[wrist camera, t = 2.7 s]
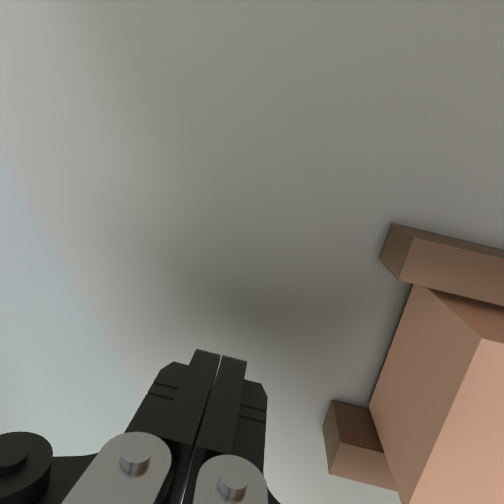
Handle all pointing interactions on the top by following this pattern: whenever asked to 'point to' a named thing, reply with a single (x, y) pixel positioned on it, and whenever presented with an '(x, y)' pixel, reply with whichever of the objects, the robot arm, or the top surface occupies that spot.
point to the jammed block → (444, 400)
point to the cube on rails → (427, 275)
